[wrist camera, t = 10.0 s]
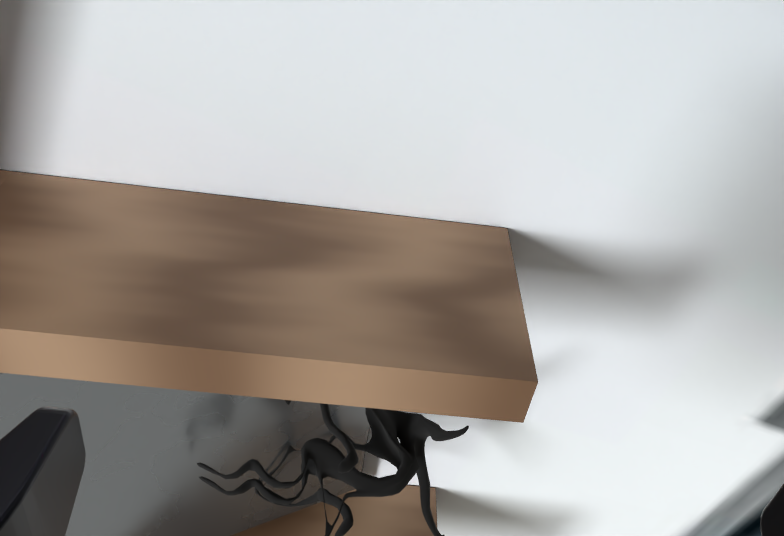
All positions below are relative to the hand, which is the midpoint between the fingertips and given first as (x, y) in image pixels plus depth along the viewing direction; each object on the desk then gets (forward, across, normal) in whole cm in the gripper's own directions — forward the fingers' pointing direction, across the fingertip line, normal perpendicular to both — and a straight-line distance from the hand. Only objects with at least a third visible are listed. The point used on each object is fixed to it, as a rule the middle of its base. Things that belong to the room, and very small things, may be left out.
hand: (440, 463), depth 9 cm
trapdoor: (+10, +5, +13) cm, 17 cm away
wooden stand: (+13, +4, +12) cm, 19 cm away
